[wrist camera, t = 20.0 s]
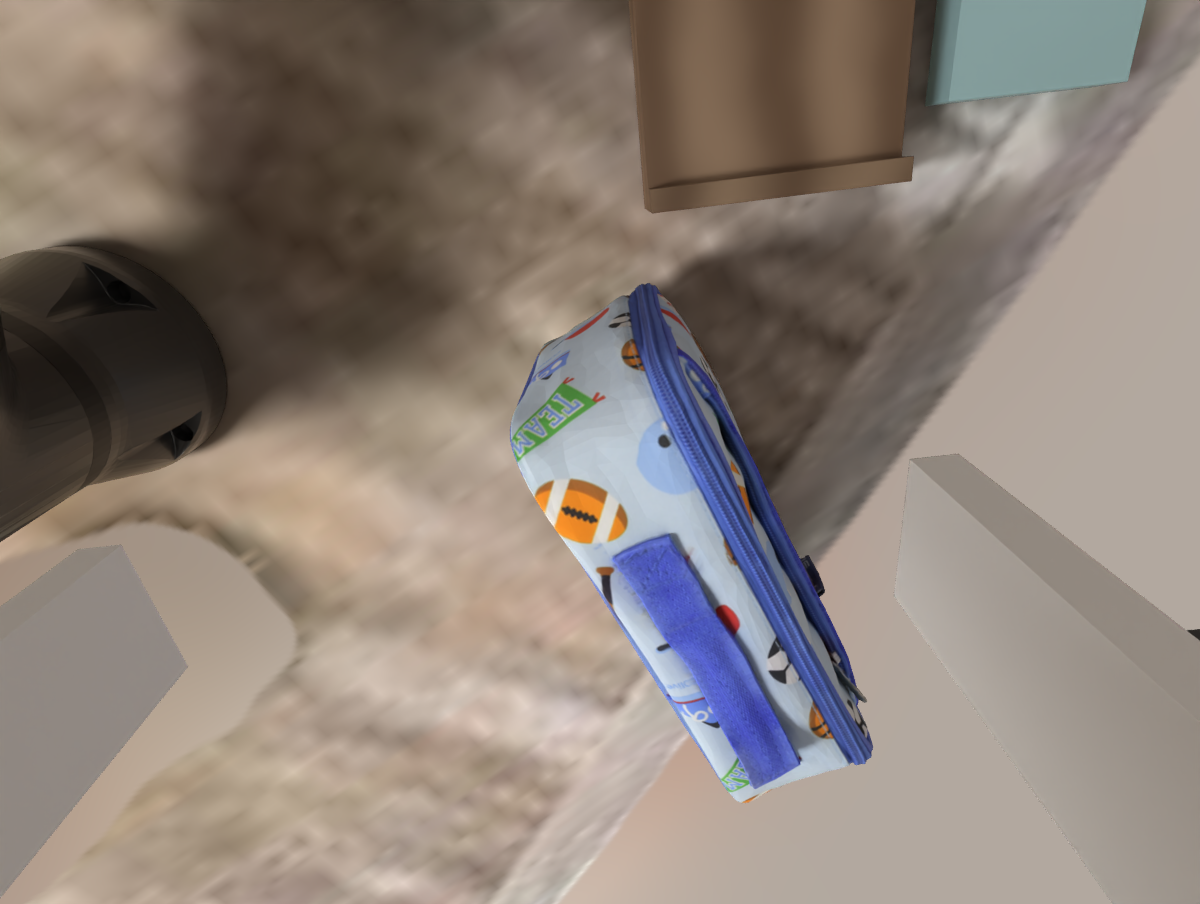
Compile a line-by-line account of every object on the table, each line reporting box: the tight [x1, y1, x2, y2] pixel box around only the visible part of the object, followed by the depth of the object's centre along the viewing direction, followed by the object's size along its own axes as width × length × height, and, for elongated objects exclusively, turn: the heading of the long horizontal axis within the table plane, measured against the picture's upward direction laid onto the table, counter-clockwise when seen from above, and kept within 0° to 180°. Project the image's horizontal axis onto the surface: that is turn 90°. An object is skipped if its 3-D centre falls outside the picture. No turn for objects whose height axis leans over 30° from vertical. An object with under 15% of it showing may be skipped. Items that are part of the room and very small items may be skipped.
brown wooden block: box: [629, 0, 916, 213], centre depth 32 cm, size 14×13×5 cm
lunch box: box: [510, 283, 873, 803], centre depth 35 cm, size 28×10×22 cm, turn 30°
